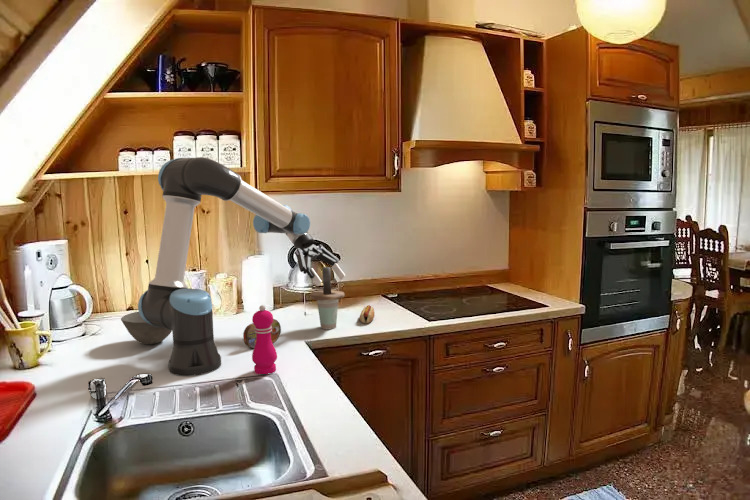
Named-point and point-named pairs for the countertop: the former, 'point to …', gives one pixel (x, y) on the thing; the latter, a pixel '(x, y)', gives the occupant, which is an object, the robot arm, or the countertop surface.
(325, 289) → the walnut lid
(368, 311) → the food
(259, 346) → the pepper mill
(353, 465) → the countertop surface
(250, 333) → the tin
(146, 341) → the bowl
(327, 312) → the coffee cup
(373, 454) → the countertop surface
